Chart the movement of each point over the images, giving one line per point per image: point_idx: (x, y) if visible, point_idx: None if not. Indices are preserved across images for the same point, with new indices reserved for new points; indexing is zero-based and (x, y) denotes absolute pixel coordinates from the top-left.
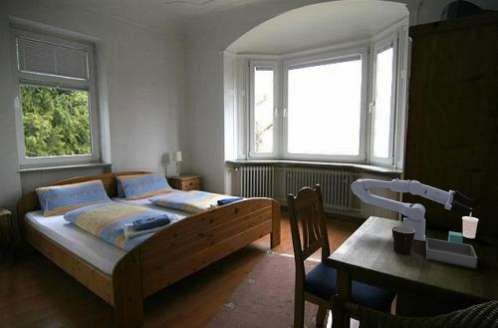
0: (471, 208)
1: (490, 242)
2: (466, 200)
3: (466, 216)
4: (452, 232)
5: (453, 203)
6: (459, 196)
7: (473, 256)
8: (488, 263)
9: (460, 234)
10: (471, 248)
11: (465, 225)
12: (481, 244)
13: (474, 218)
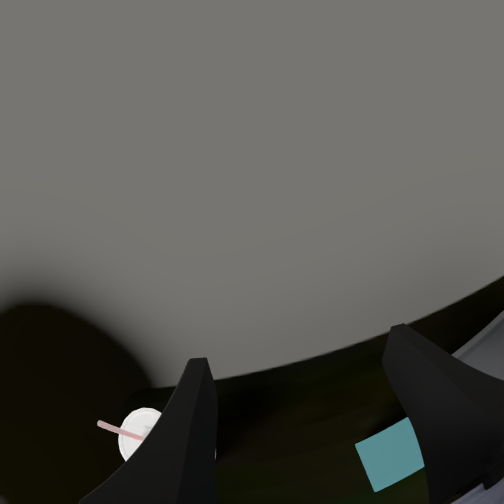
0: (102, 422)
1: (219, 386)
2: (204, 420)
3: (121, 453)
4: (382, 473)
5: (498, 455)
6: (191, 495)
7: (499, 323)
8: (446, 318)
9: (385, 436)
10: (465, 351)
11: None
12: (266, 403)
13: (132, 423)
